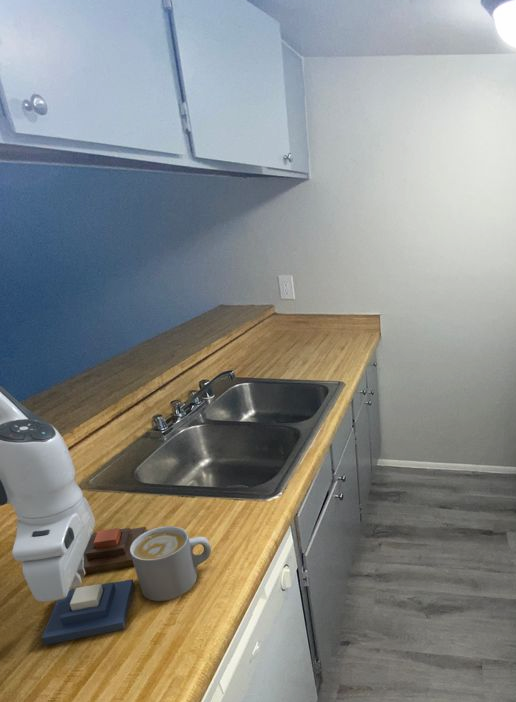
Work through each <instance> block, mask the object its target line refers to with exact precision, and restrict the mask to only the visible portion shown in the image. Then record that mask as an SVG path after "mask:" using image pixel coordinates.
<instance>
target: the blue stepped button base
mask: <svg viewBox="0 0 516 702" xmlns="http://www.w3.org/2000/svg"><path fill="white" fill-rule="evenodd" d="M100 584H101V585H102V588H103V593H102V596H101V600H100V603H99V606H96V607H91V608H85V609H80V610H75V611H72V609H71V607H70V602H71V599H72V597H73V594H74V592H75V589H76V588H70V589H69V592H68V594H67V596H66V598H64V599H61V600H56V602H55V605H54V606H53V607H54V608H53V610H52V612H51V615H50V617H49V619H48V622H47V624H46V627H45V629H44V630H43V633H42V636H41V638H40V639H41V641H42V643H43V645H44V646H48V645H53V644H58V643H63V642H68V641H71V640H72V641H73V640H78V639H82V638H87V637H92V636H96V635H103V634H108V633H113V632H116V631H117V632H118V631H122V630H125V627H126V623H127V618H128V616H129V610H130V607H131V602H132V598H133V594H134V591H135V590H134V589H135V582H134V579H133V578H131V579H126V580H120V581H112V582H107V583H100Z"/></svg>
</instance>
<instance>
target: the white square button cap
mask: <svg viewBox="0 0 516 702" xmlns="http://www.w3.org/2000/svg"><path fill="white" fill-rule="evenodd" d="M101 584H102V583H97V584H91V585H85V586H79V587H75V588H74V589H75V592H74V594H73V597H72V599H71V602H70V607H71V609H72V611H75V610H80V609H85V608H91V607H96V606H99V603H100V600H101V596H102V593H103V588H102V585H101Z"/></svg>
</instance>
